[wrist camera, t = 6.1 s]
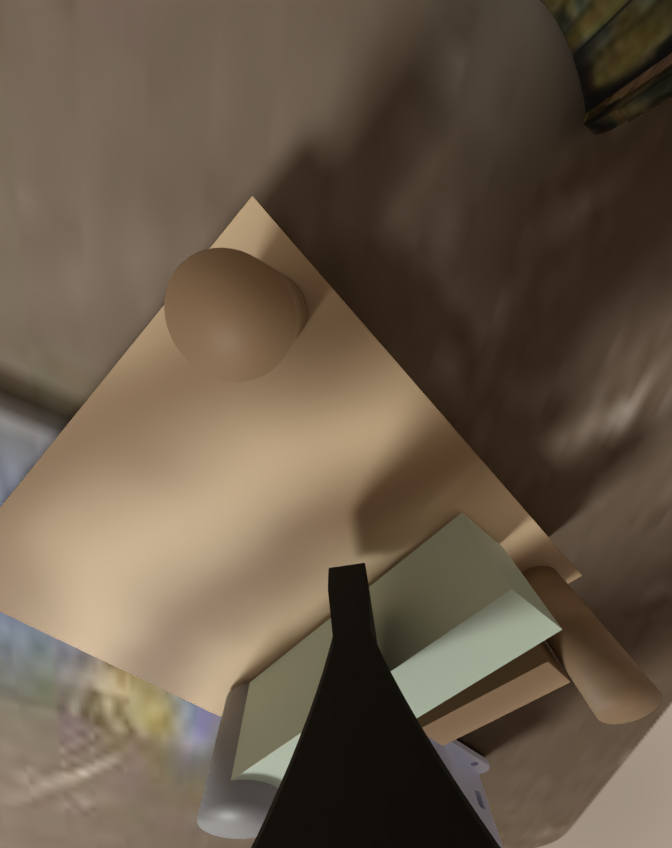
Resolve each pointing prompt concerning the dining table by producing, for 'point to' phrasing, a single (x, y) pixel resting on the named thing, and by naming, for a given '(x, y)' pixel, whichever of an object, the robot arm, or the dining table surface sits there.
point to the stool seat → (269, 496)
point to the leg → (403, 652)
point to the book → (618, 55)
